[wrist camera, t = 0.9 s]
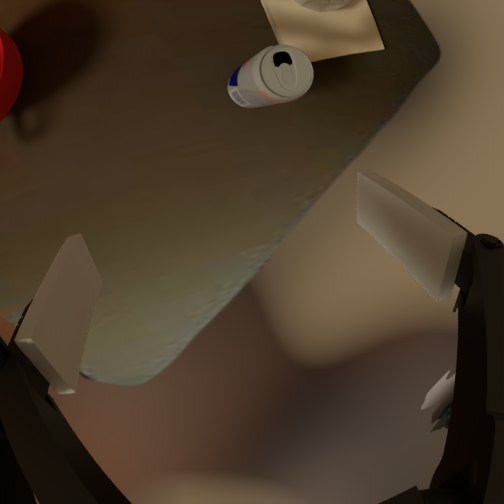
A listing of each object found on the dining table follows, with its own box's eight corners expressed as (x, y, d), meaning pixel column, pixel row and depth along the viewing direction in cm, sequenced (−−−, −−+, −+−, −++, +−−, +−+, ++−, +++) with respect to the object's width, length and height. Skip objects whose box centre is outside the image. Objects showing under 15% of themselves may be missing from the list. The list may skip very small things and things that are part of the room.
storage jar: (458, 395, 87) (481, 419, 74) (453, 408, 92) (474, 431, 78) (439, 410, 86) (462, 436, 73) (435, 422, 90) (456, 446, 77)
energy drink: (264, 62, 32) (307, 39, 22) (275, 103, 35) (322, 95, 24) (221, 71, 32) (248, 47, 21) (233, 113, 34) (264, 107, 23)
